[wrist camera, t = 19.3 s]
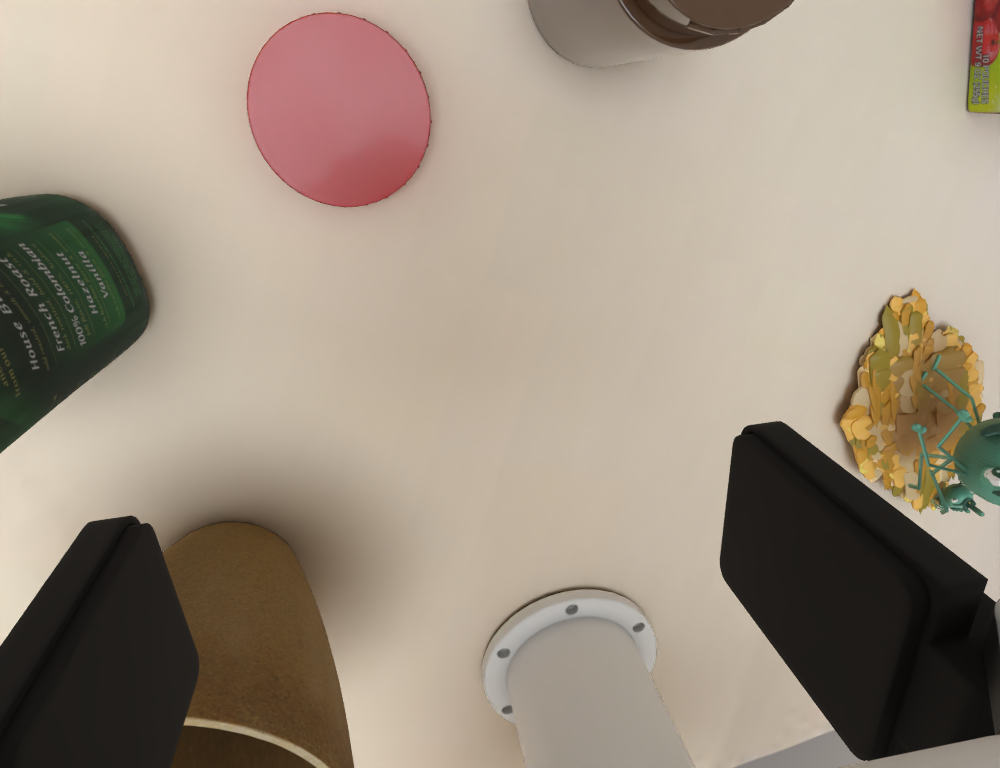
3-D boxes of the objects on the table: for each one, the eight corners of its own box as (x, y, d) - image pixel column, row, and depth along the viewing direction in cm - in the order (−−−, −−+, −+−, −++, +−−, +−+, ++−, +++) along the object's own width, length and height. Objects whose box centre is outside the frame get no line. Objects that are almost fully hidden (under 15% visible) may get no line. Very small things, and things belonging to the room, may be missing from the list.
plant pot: (207, 699, 40) (113, 1028, 26) (36, 542, 34) (-218, 866, 19) (411, 596, 40) (430, 873, 25) (277, 418, 33) (200, 653, 19)
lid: (237, 22, 26) (225, 15, 24) (418, 14, 27) (421, 6, 25) (275, 207, 29) (267, 215, 27) (435, 194, 30) (440, 200, 28)
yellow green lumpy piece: (840, 541, 45) (1032, 703, 31) (805, 309, 39) (1025, 381, 25) (962, 497, 45) (1208, 638, 31) (947, 260, 39) (1243, 303, 25)
